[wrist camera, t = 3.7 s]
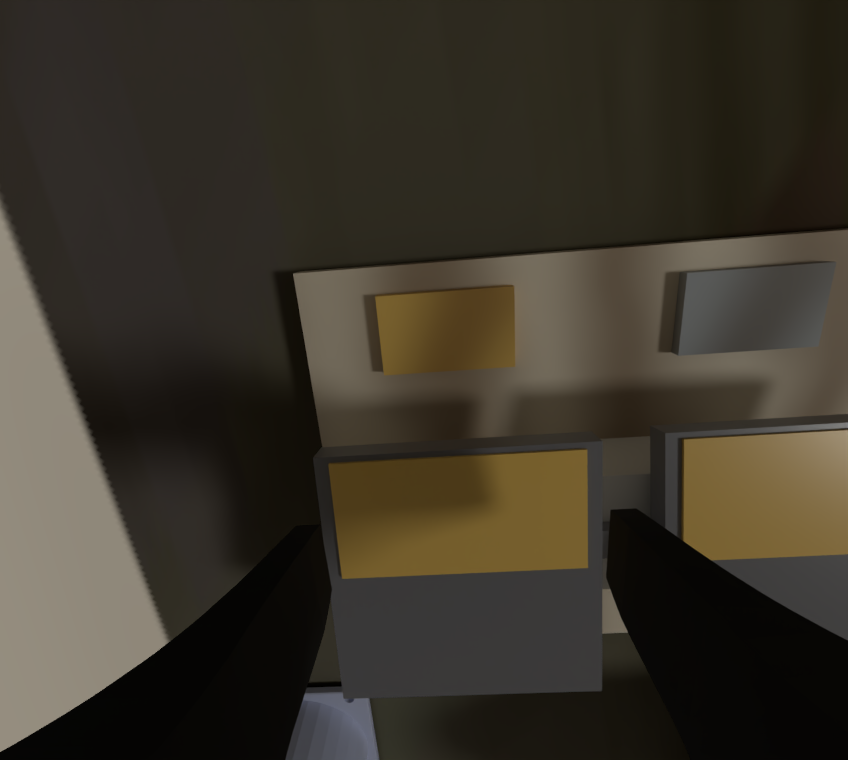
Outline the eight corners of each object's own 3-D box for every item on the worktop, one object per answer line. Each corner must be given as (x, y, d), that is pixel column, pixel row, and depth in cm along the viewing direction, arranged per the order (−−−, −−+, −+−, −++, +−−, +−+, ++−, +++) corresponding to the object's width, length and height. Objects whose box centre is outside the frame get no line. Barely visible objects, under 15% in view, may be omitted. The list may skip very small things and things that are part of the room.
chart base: (358, 625, 23) (353, 651, 21) (301, 271, 17) (288, 275, 16) (818, 607, 22) (845, 634, 20) (921, 222, 16) (968, 221, 14)
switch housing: (354, 537, 21) (335, 610, 17) (340, 443, 19) (315, 499, 15) (832, 513, 20) (933, 586, 16) (857, 412, 18) (978, 464, 14)
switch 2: (651, 670, 16) (667, 697, 15) (650, 425, 14) (667, 434, 13) (915, 661, 15) (952, 688, 14) (935, 408, 14) (978, 416, 13)
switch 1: (349, 674, 16) (342, 701, 15) (321, 447, 15) (311, 459, 14) (592, 666, 16) (603, 694, 15) (591, 431, 14) (604, 442, 13)
